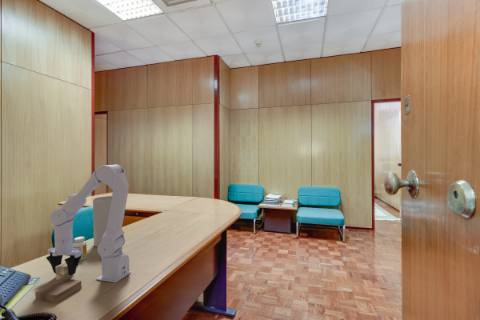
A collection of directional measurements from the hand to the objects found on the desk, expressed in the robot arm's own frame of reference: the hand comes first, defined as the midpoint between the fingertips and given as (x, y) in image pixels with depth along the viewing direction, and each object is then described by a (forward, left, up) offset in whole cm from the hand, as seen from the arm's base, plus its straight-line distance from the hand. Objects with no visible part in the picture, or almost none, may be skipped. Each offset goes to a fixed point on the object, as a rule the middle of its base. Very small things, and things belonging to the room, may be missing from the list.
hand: (64, 273), depth 92 cm
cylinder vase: (+13, -34, -2) cm, 36 cm away
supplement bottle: (+10, -15, -2) cm, 18 cm away
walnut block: (-9, +9, -2) cm, 13 cm away
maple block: (0, 0, -2) cm, 2 cm away
